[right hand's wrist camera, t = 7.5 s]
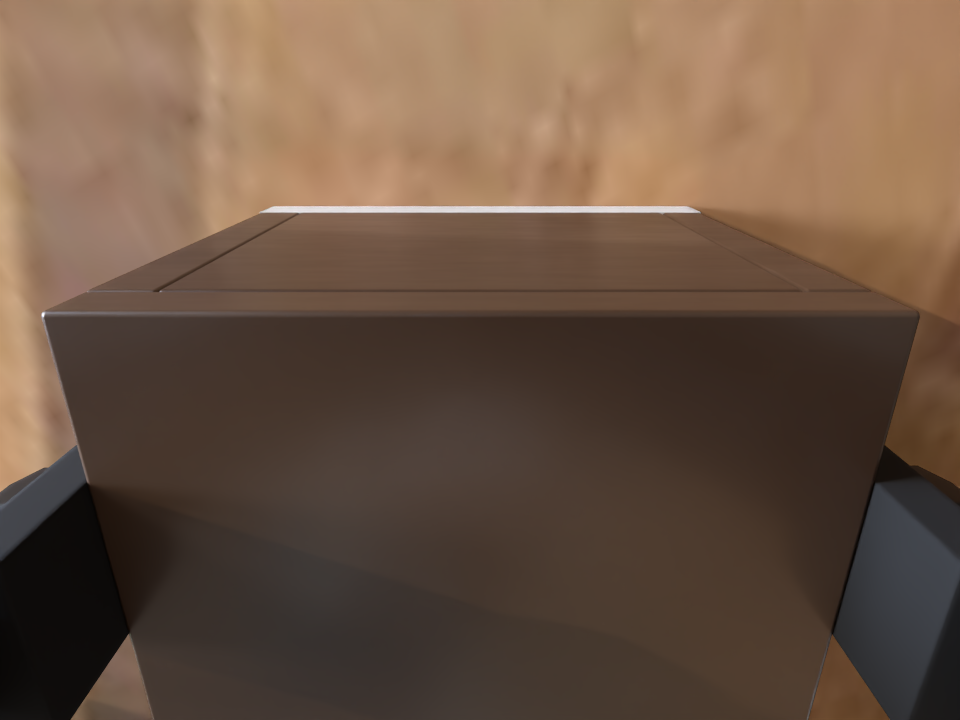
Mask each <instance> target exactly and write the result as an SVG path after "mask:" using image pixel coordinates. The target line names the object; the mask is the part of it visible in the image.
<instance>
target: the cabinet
mask: <svg viewBox="0 0 960 720" xmlns="http://www.w3.org/2000/svg"><path fill="white" fill-rule="evenodd" d="M919 318H920V315H919V312H918V311H916V310H913V309H911V308H909V307H907V306H904V305H902V304H900V303H898V302H896V301H893V300H891V299H889V298H887V297H884V296H882V295H880V294H878V293H876V292H871V291H870V290H868V289H866V288H864V287H861V286H859V285H857V284H855V283H853V282H850V281H848V280H846V279H844V278H842V277H839V276H837V275H835V274H833V273H830V272H828V271H826V270H824V269H822V268H819V267H817V266H815V265H813V264H810V263H808V262H806V261H804V260H802V259H799V258H797V257H795V256H793V255H791V254H788V253H786V252H784V251H782V250H779V249H777V248H775V247H773V246H771V245H768V244H766V243H764V242H762V241H759V240H757V239H755V238H753V237H751V236H748V235H746V234H744V233H742V232H740V231H737V230H735V229H733V228H731V227H728V226H726V225H724V224H722V223H720V222H717V221H715V220H713V219H711V218H709V217H706V216H704V215H702V214H701V212H700V211H697V210H695V209H693V208H691V207H688V206H273V207H271V208H268V209H266V210H264V211H261V212H260V214H258V215H256V216H253V217H251V218H249V219H247V220H244V221H242V222H240V223H238V224H235V225H233V226H231V227H229V228H227V229H224V230H222V231H220V232H218V233H215V234H213V235H211V236H209V237H206V238H204V239H202V240H200V241H197V242H195V243H193V244H191V245H189V246H186V247H184V248H182V249H180V250H177V251H175V252H173V253H171V254H168V255H166V256H164V257H162V258H159V259H157V260H155V261H153V262H150V263H148V264H146V265H144V266H142V267H139V268H137V269H135V270H133V271H130V272H128V273H126V274H124V275H121V276H119V277H117V278H115V279H112V280H110V281H108V282H106V283H104V284H101V285H99V286H97V287H95V288H92V289H90V290H88V291H87V292H85V293H83V294H81V295H79V296H76V297H74V298H72V299H70V300H68V301H65V302H63V303H61V304H59V305H56V306H54V307H52V308H50V309H48V310H45V311H43V313H42V321H43V325H44V328H45V332H46V335H47V339H48V343H49V346H50V350H51V354H52V357H53V361H54V364H55V368H56V372H57V375H58V379H59V382H60V386H61V390H62V393H63V397H64V400H65V404H66V408H67V411H68V415H69V419H70V422H71V426H72V429H73V433H74V437H75V440H76V444H77V447H78V451H79V455H80V458H81V462H82V466H83V469H84V473H85V476H86V480H87V484H88V487H89V491H90V494H91V498H92V502H93V505H94V509H95V512H96V516H97V520H98V523H99V527H100V531H101V534H102V538H103V541H104V545H105V549H106V552H107V556H108V559H109V563H110V567H111V570H112V574H113V577H114V581H115V585H116V588H117V592H118V596H119V599H120V603H121V606H122V610H123V614H124V617H125V621H126V624H127V628H128V632H129V635H130V639H131V643H132V646H133V650H134V653H135V657H136V661H137V664H138V668H139V671H140V675H141V679H142V682H143V686H144V689H145V693H146V697H147V700H148V704H149V708H150V711H151V715H152V718H153V720H808V719H809V715H810V711H811V708H812V704H813V701H814V697H815V693H816V690H817V686H818V683H819V679H820V675H821V672H822V668H823V665H824V661H825V657H826V654H827V650H828V647H829V643H830V639H831V636H832V632H833V629H834V625H835V621H836V618H837V614H838V610H839V607H840V603H841V600H842V596H843V592H844V589H845V585H846V582H847V578H848V574H849V571H850V567H851V564H852V560H853V556H854V553H855V549H856V546H857V542H858V538H859V535H860V531H861V528H862V524H863V520H864V517H865V513H866V509H867V506H868V502H869V499H870V495H871V491H872V488H873V484H874V481H875V477H876V473H877V470H878V466H879V463H880V459H881V455H882V452H883V448H884V445H885V441H886V437H887V434H888V430H889V427H890V423H891V419H892V416H893V412H894V408H895V405H896V401H897V398H898V394H899V390H900V387H901V383H902V380H903V376H904V372H905V369H906V365H907V362H908V358H909V354H910V351H911V347H912V344H913V340H914V336H915V333H916V329H917V326H918V322H919Z"/></svg>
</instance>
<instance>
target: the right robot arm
mask: <svg viewBox="0 0 960 720" xmlns="http://www.w3.org/2000/svg"><path fill="white" fill-rule="evenodd" d="M128 634H129V632H128V628H127V624H126V621H125V617H124V614H123V610H122V606H121V603H120V599H119V596H118V592H117V588H116V585H115V581H114V577H113V574H112V570H111V567H110V563H109V559H108V556H107V552H106V549H105V545H104V541H103V538H102V534H101V531H100V527H99V523H98V520H97V516H96V512H95V509H94V505H93V502H92V498H91V494H90V491H89V487H88V484H87V480H86V476H85V473H84V469H83V466H82V462H81V458H80V455H79V451H78V447H77V445H76V446H75V447H73V448H72V449H71V450H70V451H69V452H67V453H66V454H65V455H64V456H62V457H61V458H60V459H59V460H58V461H56V462H55V463H54V464H53V465H51V466H50V467H49V468H43V469H41V470H39V471H37V472H35V473H33V474H31V475H29V476H27V477H25V478H23V479H21V480H19V481H17V482H15V483H13V484H11V485H9V486H8V487H7V488H5V489H4V490H3V491H1V492H0V720H70V719H71V718H72V717H73V715H74V714H75V712H76V711H77V709H78V708H79V706H80V705H81V703H82V702H83V700H84V699H85V697H86V696H87V694H88V693H89V691H90V690H91V689H92V687H93V686H94V684H95V683H96V681H97V680H98V678H99V677H100V675H101V674H102V672H103V671H104V669H105V668H106V666H107V665H108V663H109V662H110V660H111V659H112V658H113V656H114V655H115V653H116V652H117V650H118V649H119V647H120V646H121V644H122V643H123V641H124V640H125V638H126V637H127V635H128ZM832 634H833V636H834V637H835V639H836V640H837V642H838V643H839V645H840V646H841V648H842V649H843V651H844V652H845V654H846V655H847V657H848V658H849V660H850V661H851V662H852V664H853V665H854V667H855V668H856V670H857V671H858V673H859V674H860V676H861V677H862V679H863V680H864V682H865V683H866V685H867V686H868V688H869V689H870V690H871V692H872V693H873V695H874V696H875V698H876V699H877V701H878V702H879V704H880V705H881V707H882V708H883V710H884V711H885V713H886V714H887V716H888V717H889V719H890V720H960V489H959V488H958V487H956V486H955V485H954V484H953V483H951V482H949V481H947V480H945V479H943V478H941V477H939V476H937V475H935V474H933V473H931V472H929V471H927V470H925V469H923V468H921V467H919V466H909V465H908V464H907V463H906V462H904V461H903V460H902V459H901V458H900V457H898V456H897V455H896V454H895V453H893V452H892V451H891V450H890V449H889V448H887V447H886V446H885V445H884V448H883V452H882V455H881V459H880V463H879V466H878V470H877V473H876V477H875V481H874V484H873V488H872V491H871V495H870V499H869V502H868V506H867V509H866V513H865V517H864V520H863V524H862V528H861V531H860V535H859V538H858V542H857V546H856V549H855V553H854V556H853V560H852V564H851V567H850V571H849V574H848V578H847V582H846V585H845V589H844V592H843V596H842V600H841V603H840V607H839V610H838V614H837V618H836V621H835V625H834V629H833V632H832Z"/></svg>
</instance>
